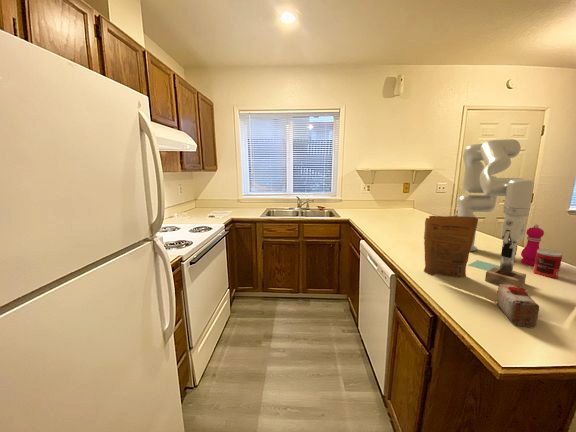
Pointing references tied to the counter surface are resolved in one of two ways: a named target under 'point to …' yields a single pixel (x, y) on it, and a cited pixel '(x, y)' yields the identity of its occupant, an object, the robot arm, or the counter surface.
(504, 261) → the steel pin
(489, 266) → the mat
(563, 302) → the counter surface
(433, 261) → the pancake mix bag
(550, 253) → the canned food
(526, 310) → the food item
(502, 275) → the socket block
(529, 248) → the pepper mill
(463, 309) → the counter surface
